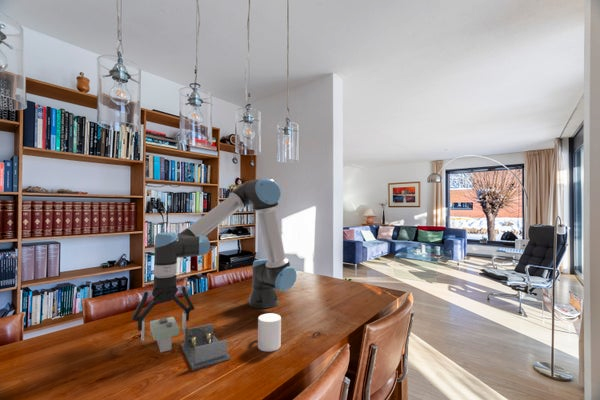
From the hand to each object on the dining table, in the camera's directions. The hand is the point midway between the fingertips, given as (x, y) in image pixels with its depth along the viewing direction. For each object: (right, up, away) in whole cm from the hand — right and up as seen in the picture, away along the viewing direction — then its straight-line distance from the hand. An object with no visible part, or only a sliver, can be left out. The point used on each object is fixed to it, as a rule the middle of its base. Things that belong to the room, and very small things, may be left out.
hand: (164, 334), depth 102 cm
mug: (+37, -4, +2) cm, 37 cm away
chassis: (+16, -4, -5) cm, 17 cm away
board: (0, +1, 0) cm, 1 cm away
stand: (0, -4, 0) cm, 4 cm away
